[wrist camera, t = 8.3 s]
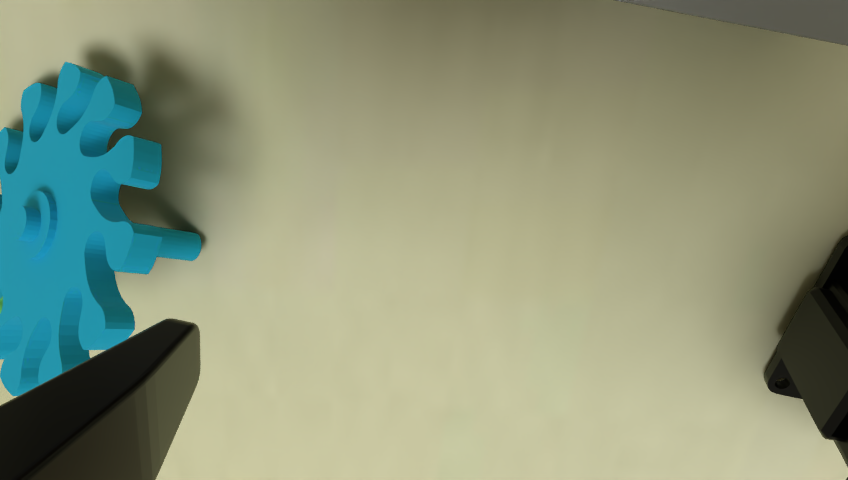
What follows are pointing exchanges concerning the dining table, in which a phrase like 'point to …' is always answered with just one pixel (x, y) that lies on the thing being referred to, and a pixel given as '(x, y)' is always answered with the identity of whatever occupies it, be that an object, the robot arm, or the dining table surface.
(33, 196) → the gear
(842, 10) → the bay
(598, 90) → the dining table surface
